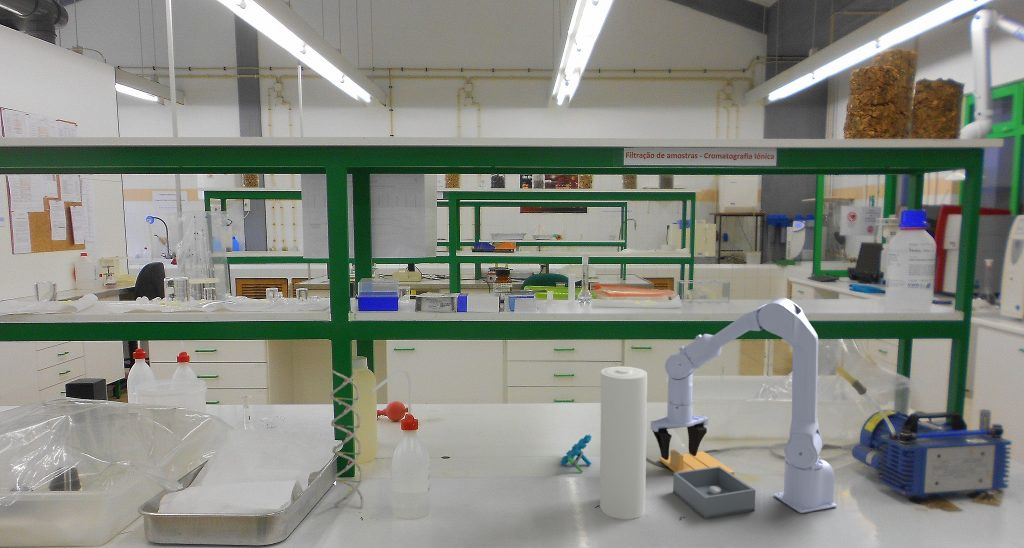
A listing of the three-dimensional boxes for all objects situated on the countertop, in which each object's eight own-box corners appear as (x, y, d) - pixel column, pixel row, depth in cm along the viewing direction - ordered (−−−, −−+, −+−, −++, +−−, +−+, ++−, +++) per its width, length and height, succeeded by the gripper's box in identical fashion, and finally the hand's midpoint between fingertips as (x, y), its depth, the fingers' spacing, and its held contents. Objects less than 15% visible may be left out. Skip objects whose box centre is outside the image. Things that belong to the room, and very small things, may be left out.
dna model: (370, 501, 125) (365, 367, 122) (356, 516, 119) (350, 375, 115) (342, 498, 126) (336, 366, 123) (327, 513, 120) (321, 374, 117)
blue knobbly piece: (567, 447, 149) (592, 426, 145) (583, 464, 148) (608, 444, 144) (552, 469, 140) (578, 448, 135) (569, 487, 139) (596, 467, 134)
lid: (702, 456, 147) (703, 438, 147) (734, 477, 135) (734, 457, 135) (659, 462, 144) (659, 443, 144) (687, 485, 132) (688, 464, 131)
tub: (719, 484, 131) (719, 466, 131) (754, 510, 120) (755, 490, 119) (673, 492, 128) (673, 472, 127) (704, 519, 116) (705, 498, 116)
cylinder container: (633, 494, 127) (635, 362, 124) (652, 516, 118) (655, 374, 115) (593, 499, 125) (594, 365, 122) (610, 521, 116) (611, 377, 113)
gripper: (696, 394, 142) (695, 446, 144) (644, 399, 138) (643, 453, 140) (713, 402, 136) (712, 457, 137) (659, 408, 132) (658, 465, 133)
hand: (678, 456), depth 138 cm, fingers open, 7 cm apart
